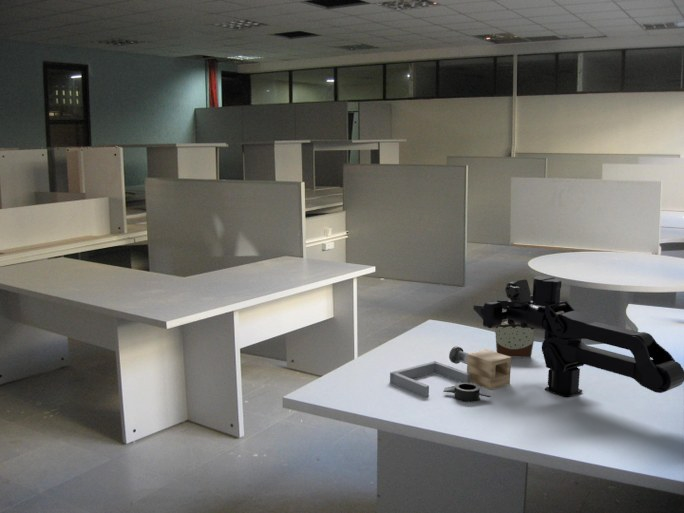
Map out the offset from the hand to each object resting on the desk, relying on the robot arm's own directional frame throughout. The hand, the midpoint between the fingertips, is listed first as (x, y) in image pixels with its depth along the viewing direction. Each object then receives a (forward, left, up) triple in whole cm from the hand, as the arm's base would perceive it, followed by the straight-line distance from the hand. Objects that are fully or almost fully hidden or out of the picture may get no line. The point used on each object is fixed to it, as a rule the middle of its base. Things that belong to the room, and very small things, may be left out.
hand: (485, 304), depth 186 cm
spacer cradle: (-2, +22, -17) cm, 28 cm away
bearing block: (-10, +10, -17) cm, 22 cm away
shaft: (-5, +10, -14) cm, 18 cm away
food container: (+2, -14, -17) cm, 22 cm away
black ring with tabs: (-14, +22, -17) cm, 31 cm away
